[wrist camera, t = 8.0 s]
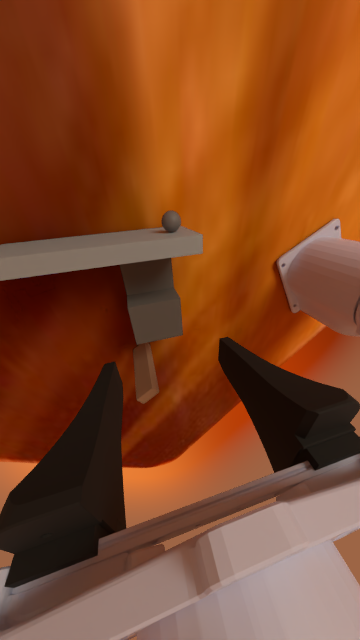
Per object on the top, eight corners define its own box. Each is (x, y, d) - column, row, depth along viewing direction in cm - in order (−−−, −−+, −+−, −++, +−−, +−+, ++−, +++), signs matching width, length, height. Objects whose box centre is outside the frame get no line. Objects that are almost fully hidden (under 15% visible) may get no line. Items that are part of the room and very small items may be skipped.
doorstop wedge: (117, 245, 18) (115, 258, 13) (164, 239, 18) (176, 250, 14) (134, 318, 22) (136, 344, 18) (171, 311, 23) (182, 335, 19)
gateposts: (-133, 172, 12) (-406, 139, 6) (-116, 146, 11) (-388, 83, 5) (138, 353, 24) (144, 403, 18) (150, 344, 24) (159, 391, 18)
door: (11, 259, 15) (-42, 286, 11) (-9, 224, 14) (-79, 236, 9) (180, 239, 18) (202, 253, 13) (178, 207, 17) (202, 209, 12)
